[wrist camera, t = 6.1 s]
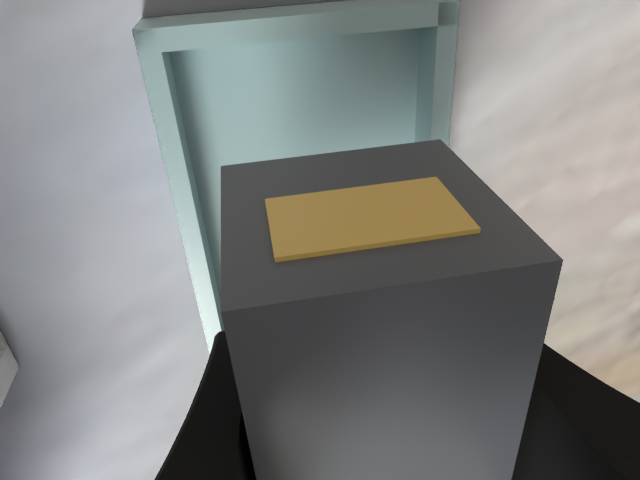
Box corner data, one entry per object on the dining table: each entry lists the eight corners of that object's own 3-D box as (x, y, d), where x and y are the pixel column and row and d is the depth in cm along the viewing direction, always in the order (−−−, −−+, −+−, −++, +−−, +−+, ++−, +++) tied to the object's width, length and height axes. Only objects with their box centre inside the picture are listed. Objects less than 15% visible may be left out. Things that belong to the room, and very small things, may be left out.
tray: (417, 305, 22) (433, 334, 20) (214, 336, 21) (213, 370, 19) (435, -8, 15) (460, 0, 14) (141, 18, 15) (131, 30, 13)
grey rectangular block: (422, 401, 15) (491, 564, 11) (267, 428, 14) (284, 610, 11) (440, 135, 10) (564, 254, 7) (219, 161, 10) (219, 307, 6)
